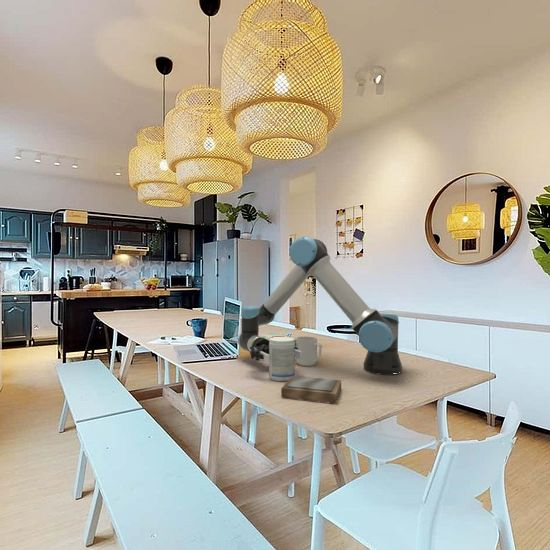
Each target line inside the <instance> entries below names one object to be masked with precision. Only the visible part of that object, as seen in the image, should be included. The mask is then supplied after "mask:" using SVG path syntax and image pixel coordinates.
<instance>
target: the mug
mask: <svg viewBox="0 0 550 550" xmlns="http://www.w3.org/2000/svg"><path fill="white" fill-rule="evenodd" d="M296 338H297V342H296V346H295V347H298V350H299V351H302V359H299V358H296V357H295V363H297V365H299V366H302V367H313V366H315V365H316V364H317V362H318V360H319V359H321V358H322V351H323V350H322V348H323V345H322V344H321V343H319V342H318V338H317V337H314V336H297V337H296Z"/></svg>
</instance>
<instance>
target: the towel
mask: <svg viewBox="0 0 550 550" xmlns="http://www.w3.org/2000/svg"><path fill="white" fill-rule="evenodd" d="M272 336H285V334H284V335H283V334H280V333H274V332H271V333H267V334H265V335H261V336H260V337H263V338H265V339H267V340H268V338H270V337H272ZM289 337H290V338H293V339H294V342H295V347H296V342H297V337H292V336H289Z"/></svg>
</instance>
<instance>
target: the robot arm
mask: <svg viewBox="0 0 550 550" xmlns="http://www.w3.org/2000/svg"><path fill="white" fill-rule="evenodd" d="M289 257H290V260H291V261H292V263H293V264H295V266H293V268H292V269H291V270H290V271H289V273H288V274H287V275H286V276H285V277H284V279H283V280H282V281H281V282H280V284H278V286H277V287H276V288H275V289H274V291H273V292H272V293H271V294H270V295H269V297H268V298H267V299H266V300H265V301H264V302H263V304H262V305H261V306H260V307H258V305H257V306H256V305H245V306H243V307H242V309H241V314H240V316H241V333H240V334H239V335H238V337H237V343H238V346H239V347H241V348H242V349H243V350H245V351H247V352H249V354H250V359H251V360H253V359H255V361H257V362H259V361H260V360H261V361H263V362H266V363H268V364H269V363H270V355H269V342H270V341H269V340H267V339H265V338H263V337H261V336H260V335H259V330H260V328H259V327H260V326H263V325H267V324H268V325H269V324H271V322H273V321H274V320H275V315H276V314H277V313H278V312H279V311H280V310H281V309H282V308H283V306H284V305H286V303H287V302H288V300H289V299H290V298H291V297H292V296H293V295H294V294H295V293H296V292H297V290H298V289H299V288H300V287H301V285H303V283H304V282H305V281H306V280H307V279H308V277H309V276H310V277H311V276H312V277H314V279H316V281H317V282H318V283H319V285H320V286H321V287H322V288H323V289H324V290H325V292H326V293H327V294H328V295H329V297H330V298H331V300H333V302H334V303H335V304H336V305H337V306H338V307H339V309H341V312H343V313H344V314H345V315H346V317H347V318H348V319H349V321H350V322H351V323H352V324H351V325H352V326H351V327H352V330H353V331H354V333H356V335H357V336H358V340H359V343H360V345H361V347H363V348H364V349H366V351H367V352H366V355H365V358H364V360H363V370H364V369H365V370H364V371H366V372H368V371H369V373H372V372H373V373H372V374H376V373H380V374H379V375H385V374H393V373H399V372H401V371H402V372H403V364H402V361H401V359H400V358H401V357H400V355H399V351H398V350H399V324H400V321H399V316H398V315H396V314H393V313H392V314H391V313H380V312H379V311H378V310H377V309H376V308H370V307H369V306H368V304H367V303H366V302H365V300H363V299H362V297H360V295H359V294H358V293H357V292H356V290H354V288H353V287H352V286H351V284H349V283H348V281H347V280H346V279H345V278H344V276H343V275H342V274H341V273H340V272H339V271H338V270H337V269H336V268H335V266H334V265H333V264H332V263H331V256H330V255H329V254H328V248H327V245H326V244H325V243H324V242H323V241H322V240H319V239H317V238H312V237H310V236H301V237H300V236H299V237H298V238H295V240H294V241H293V242H292V243H291V245H290V247H289ZM296 358H299V359H302V351H299V350H298V347H296V346H295V359H296ZM402 372H401V373H402ZM399 374H400V373H399ZM393 375H394V374H393Z"/></svg>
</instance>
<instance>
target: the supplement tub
mask: <svg viewBox="0 0 550 550" xmlns="http://www.w3.org/2000/svg"><path fill="white" fill-rule="evenodd" d="M290 337H291V336H288V337H273V338H270V342H269V355H270V363H268V377H269V379H270V380H272V381H276V382H287V381H288V380H289V379H290V378H291V377H292V376H296V375H295V373H296V372H295V369H296V367H295V366H296V364H295V363H296V357H295V347H296V346H295V342H294V339H293V338H294V337H293V338H290Z"/></svg>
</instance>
